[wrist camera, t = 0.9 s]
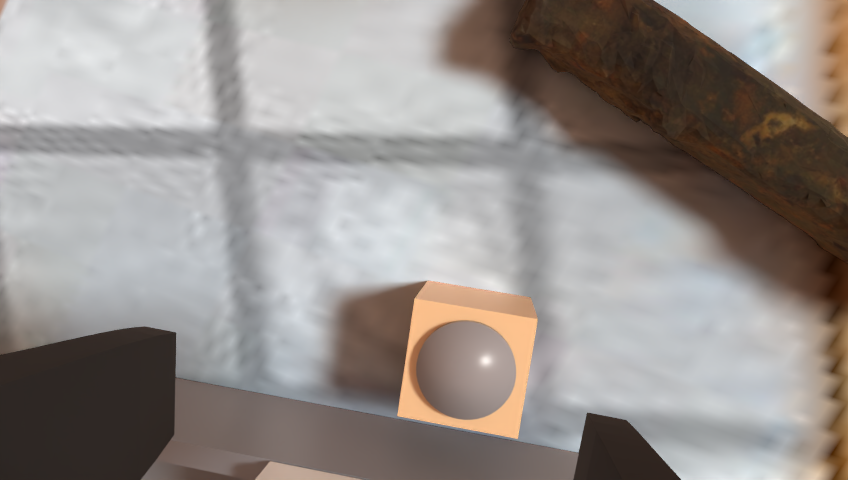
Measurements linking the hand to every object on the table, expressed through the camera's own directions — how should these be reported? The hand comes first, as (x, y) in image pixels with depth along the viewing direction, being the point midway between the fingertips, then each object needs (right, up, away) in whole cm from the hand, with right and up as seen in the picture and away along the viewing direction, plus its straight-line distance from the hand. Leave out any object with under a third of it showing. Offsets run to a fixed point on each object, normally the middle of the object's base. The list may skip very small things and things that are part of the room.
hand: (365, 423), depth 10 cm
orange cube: (+3, -1, +13) cm, 14 cm away
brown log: (+13, +7, +12) cm, 19 cm away
